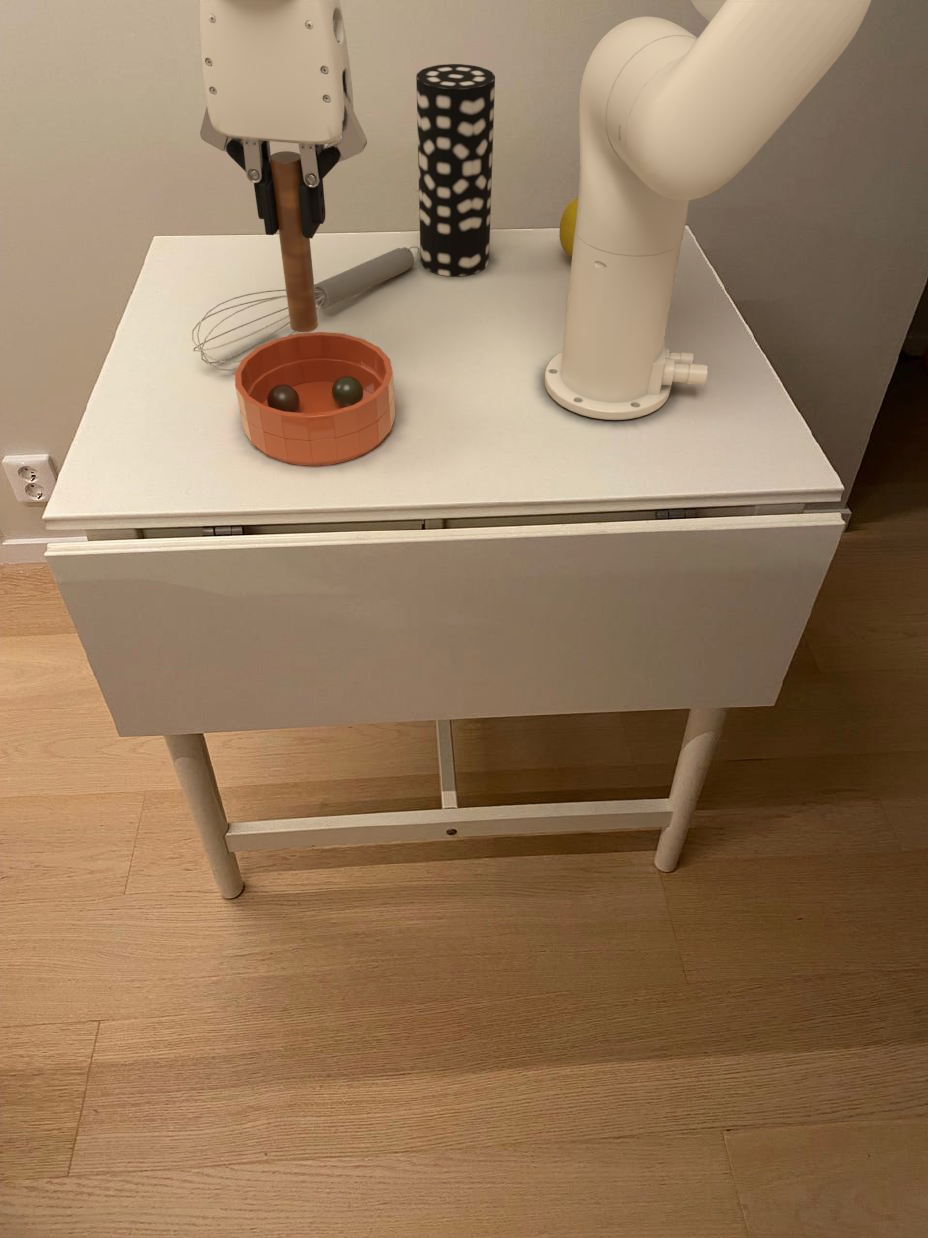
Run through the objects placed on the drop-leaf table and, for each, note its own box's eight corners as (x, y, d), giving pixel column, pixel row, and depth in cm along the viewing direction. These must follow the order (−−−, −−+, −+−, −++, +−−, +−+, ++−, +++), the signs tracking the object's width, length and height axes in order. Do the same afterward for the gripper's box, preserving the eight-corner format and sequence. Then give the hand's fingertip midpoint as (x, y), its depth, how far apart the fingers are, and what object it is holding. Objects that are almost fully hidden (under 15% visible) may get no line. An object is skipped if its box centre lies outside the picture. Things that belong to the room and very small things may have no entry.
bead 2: (367, 398, 90) (365, 371, 88) (360, 415, 88) (358, 388, 85) (337, 395, 90) (334, 368, 88) (330, 413, 88) (327, 385, 86)
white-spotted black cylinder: (497, 250, 113) (504, 68, 99) (477, 280, 108) (481, 92, 93) (433, 240, 115) (431, 60, 100) (410, 270, 110) (404, 83, 95)
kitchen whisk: (438, 268, 110) (437, 215, 105) (227, 393, 91) (214, 335, 87) (399, 254, 112) (396, 201, 108) (185, 373, 94) (171, 315, 89)
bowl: (406, 388, 92) (404, 338, 88) (378, 474, 82) (374, 423, 78) (268, 376, 93) (260, 326, 89) (224, 460, 84) (213, 408, 80)
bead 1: (304, 406, 89) (301, 379, 86) (296, 424, 87) (292, 397, 84) (274, 404, 89) (270, 376, 87) (265, 421, 87) (261, 394, 85)
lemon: (550, 253, 113) (556, 186, 107) (593, 249, 114) (601, 182, 108) (564, 274, 109) (571, 206, 103) (608, 269, 110) (617, 202, 104)
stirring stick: (320, 319, 81) (304, 152, 71) (314, 333, 79) (296, 163, 69) (294, 317, 81) (274, 149, 71) (287, 331, 80) (265, 161, 69)
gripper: (393, -53, 63) (400, 218, 76) (165, -66, 64) (211, 203, 77) (371, -27, 58) (382, 258, 71) (124, -42, 59) (181, 241, 72)
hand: (293, 227), depth 74 cm, fingers closed on stirring stick, 2 cm apart
